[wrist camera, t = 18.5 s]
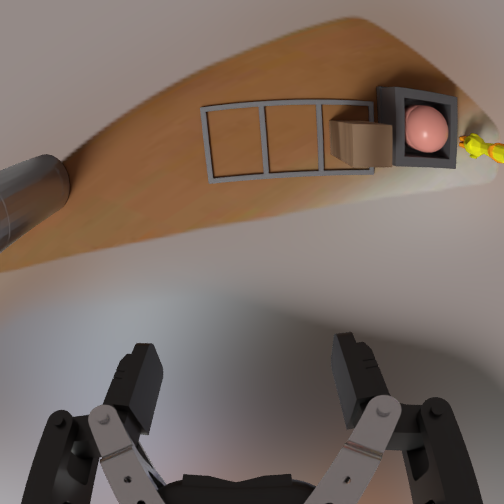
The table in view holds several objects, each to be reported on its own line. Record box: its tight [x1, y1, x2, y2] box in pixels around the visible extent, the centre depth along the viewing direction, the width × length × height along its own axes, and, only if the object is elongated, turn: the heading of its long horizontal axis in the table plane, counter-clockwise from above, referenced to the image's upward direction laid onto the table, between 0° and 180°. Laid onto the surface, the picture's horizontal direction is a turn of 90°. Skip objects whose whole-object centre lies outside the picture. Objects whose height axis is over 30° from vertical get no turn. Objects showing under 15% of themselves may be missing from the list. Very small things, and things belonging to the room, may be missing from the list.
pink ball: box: [404, 105, 448, 152], centre depth 30 cm, size 6×6×6 cm
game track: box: [200, 100, 374, 184], centre depth 35 cm, size 22×10×1 cm, turn 95°
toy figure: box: [459, 133, 504, 163], centre depth 28 cm, size 7×4×12 cm, turn 95°
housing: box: [376, 86, 457, 169], centre depth 31 cm, size 10×10×5 cm
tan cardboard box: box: [329, 120, 392, 168], centre depth 31 cm, size 4×4×9 cm
